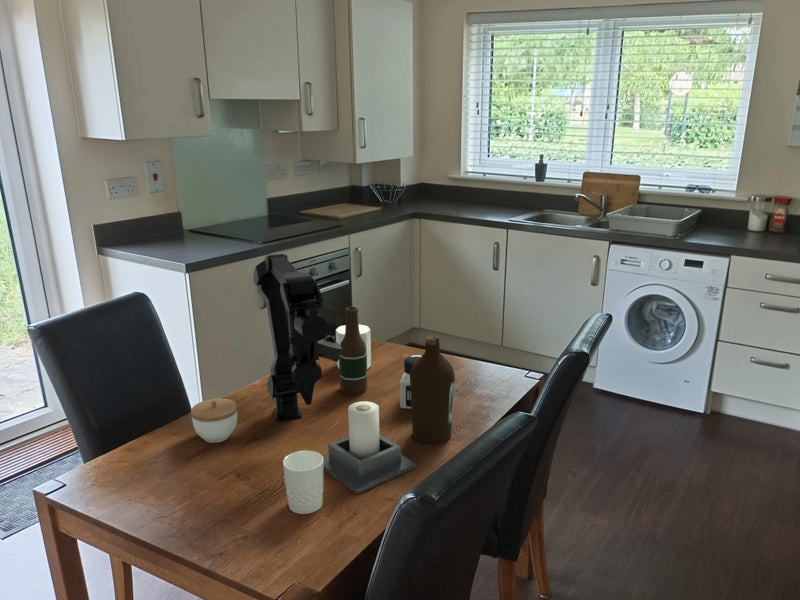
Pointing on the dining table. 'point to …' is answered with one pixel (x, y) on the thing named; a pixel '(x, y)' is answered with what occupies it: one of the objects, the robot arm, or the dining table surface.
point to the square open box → (365, 464)
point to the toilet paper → (363, 333)
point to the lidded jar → (214, 419)
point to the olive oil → (432, 395)
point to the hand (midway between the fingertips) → (307, 397)
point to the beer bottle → (353, 356)
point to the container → (407, 382)
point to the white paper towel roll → (363, 429)
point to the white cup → (304, 481)
